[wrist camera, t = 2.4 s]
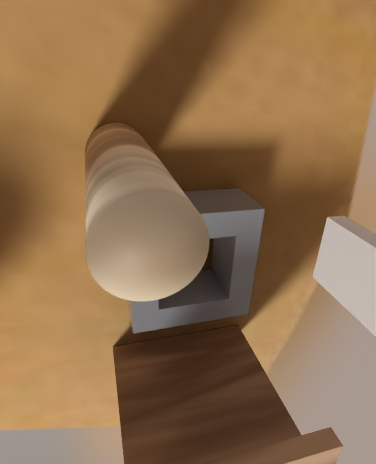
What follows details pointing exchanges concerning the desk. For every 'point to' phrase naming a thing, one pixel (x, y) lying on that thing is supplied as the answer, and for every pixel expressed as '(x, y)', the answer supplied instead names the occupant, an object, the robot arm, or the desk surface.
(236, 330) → the wooden lipped block
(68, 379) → the desk surface
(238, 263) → the socket
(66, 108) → the desk surface
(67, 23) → the desk surface
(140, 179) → the peg
